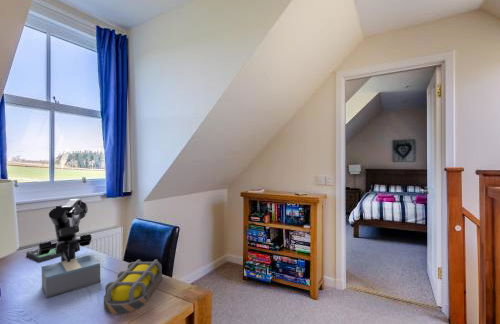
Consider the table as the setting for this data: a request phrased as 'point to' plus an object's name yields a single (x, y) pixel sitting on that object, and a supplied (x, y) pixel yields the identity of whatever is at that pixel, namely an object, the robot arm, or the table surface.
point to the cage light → (132, 287)
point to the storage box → (70, 281)
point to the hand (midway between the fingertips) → (69, 261)
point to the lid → (69, 266)
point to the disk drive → (43, 257)
